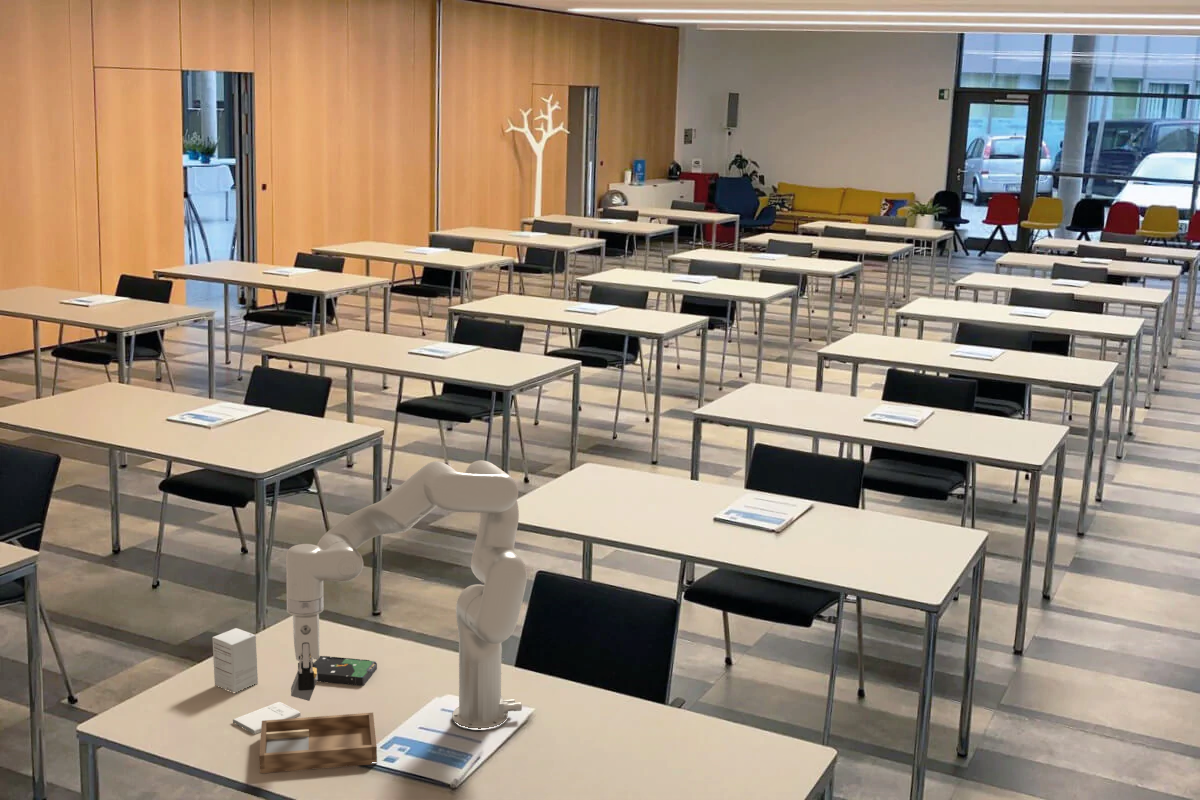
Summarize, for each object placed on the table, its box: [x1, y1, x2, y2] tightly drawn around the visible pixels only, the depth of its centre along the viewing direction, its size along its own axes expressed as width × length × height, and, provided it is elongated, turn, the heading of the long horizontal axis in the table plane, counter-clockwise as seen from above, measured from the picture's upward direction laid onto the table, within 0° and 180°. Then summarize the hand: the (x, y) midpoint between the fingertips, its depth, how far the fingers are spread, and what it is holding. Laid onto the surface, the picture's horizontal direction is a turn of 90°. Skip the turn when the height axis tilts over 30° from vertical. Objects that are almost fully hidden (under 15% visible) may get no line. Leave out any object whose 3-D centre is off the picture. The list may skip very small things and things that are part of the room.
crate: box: [258, 712, 378, 774], centre depth 283 cm, size 24×16×4 cm, turn 102°
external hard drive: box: [232, 701, 301, 735], centre depth 297 cm, size 2×8×12 cm
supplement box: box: [211, 627, 259, 694], centre depth 312 cm, size 7×7×13 cm
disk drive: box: [313, 655, 378, 687], centre depth 320 cm, size 10×3×15 cm
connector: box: [290, 667, 318, 702], centre depth 278 cm, size 4×4×6 cm
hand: (306, 684), depth 278 cm, fingers closed on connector, 4 cm apart
